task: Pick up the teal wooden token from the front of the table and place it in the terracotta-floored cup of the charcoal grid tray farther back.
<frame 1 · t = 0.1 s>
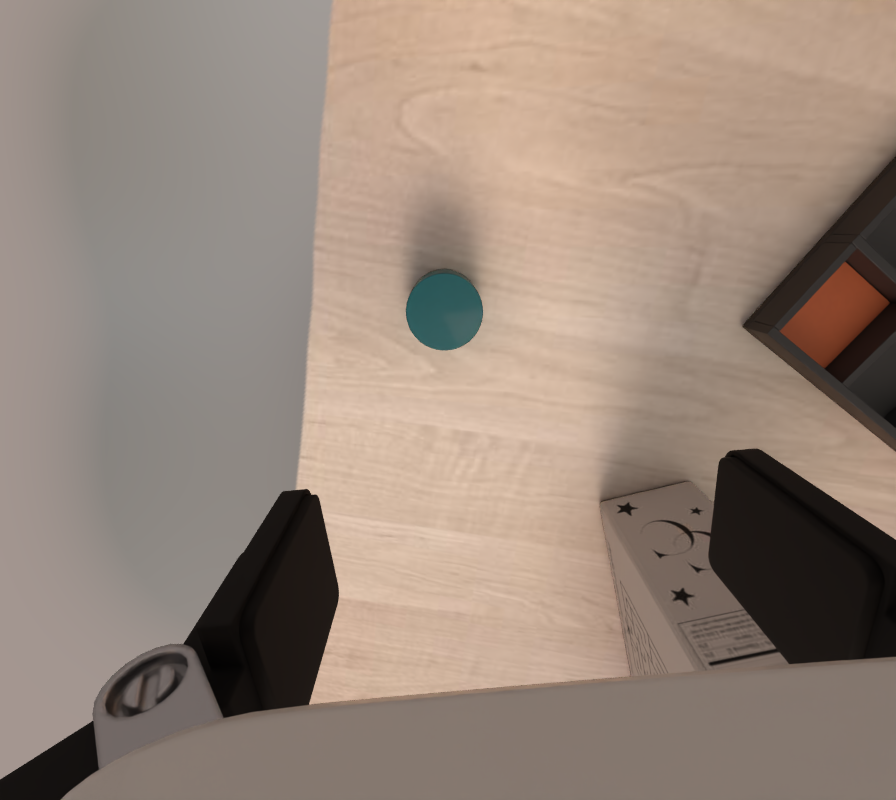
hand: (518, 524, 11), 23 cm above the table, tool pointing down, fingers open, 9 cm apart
cereal box: (657, 590, 41), on the table
token: (444, 304, 32), on the table
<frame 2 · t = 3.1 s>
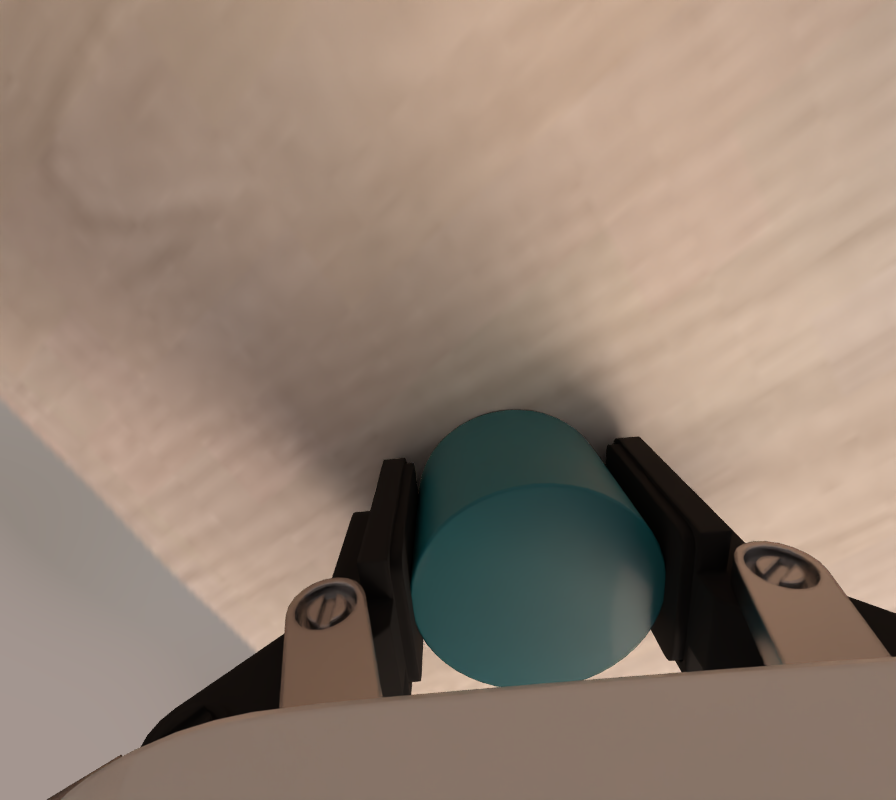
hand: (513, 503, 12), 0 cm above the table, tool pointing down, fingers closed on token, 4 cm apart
token: (510, 494, 12), on the table, touching gripper
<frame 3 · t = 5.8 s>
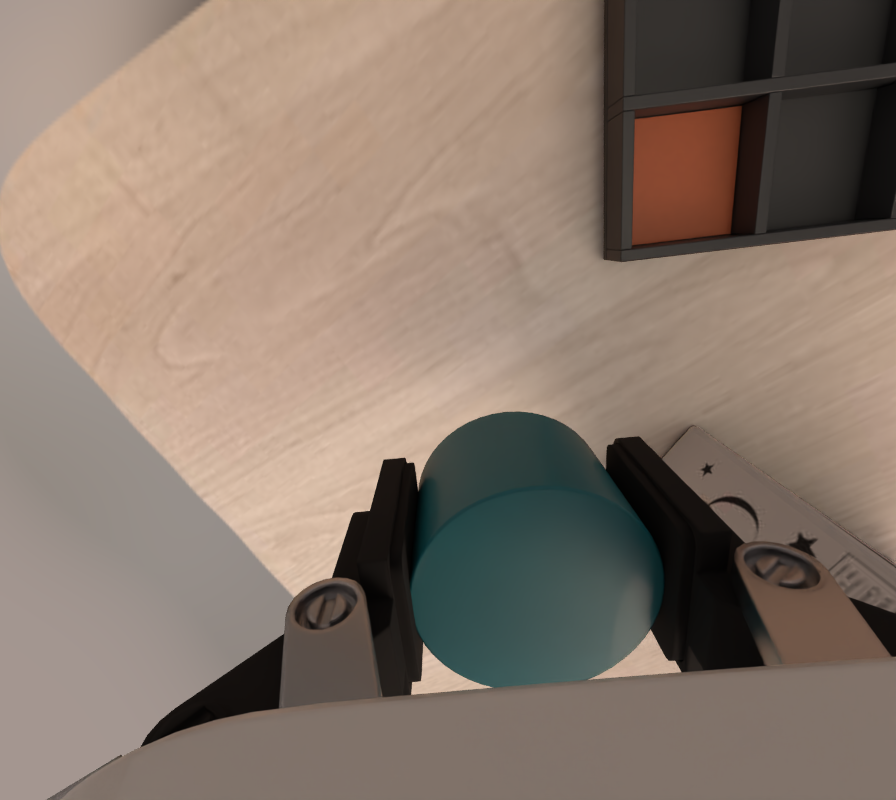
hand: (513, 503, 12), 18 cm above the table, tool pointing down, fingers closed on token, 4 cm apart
grid: (808, 92, 24), on the table
cereal box: (761, 536, 33), on the table
token: (510, 496, 12), point 17 cm above the table, touching gripper
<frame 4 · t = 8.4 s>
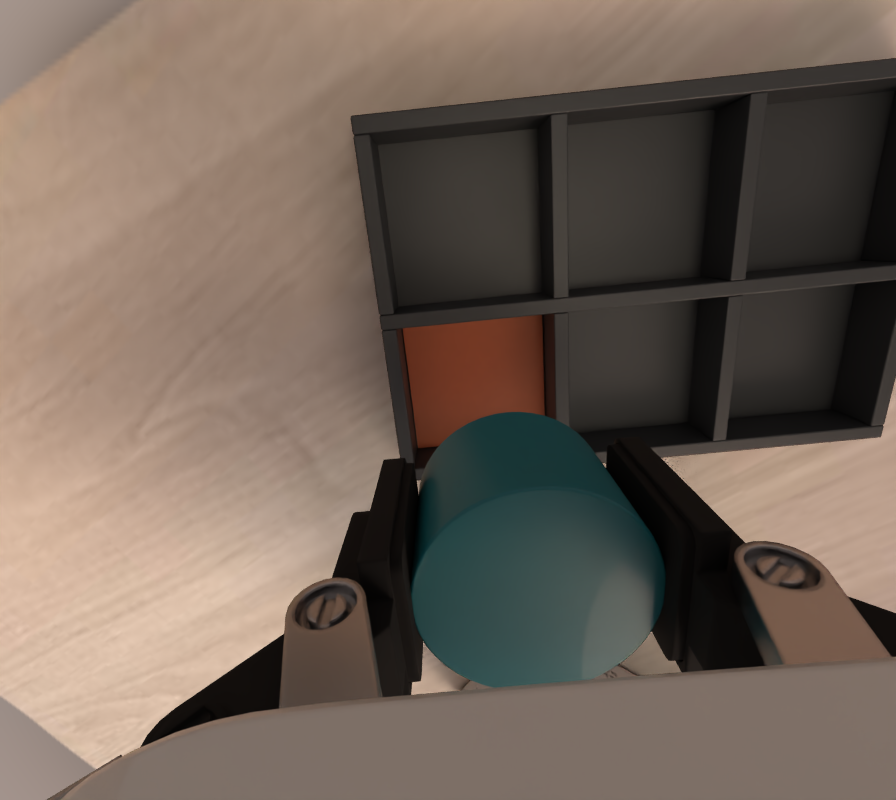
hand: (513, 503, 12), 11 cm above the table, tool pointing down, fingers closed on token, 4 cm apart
grid: (623, 289, 20), on the table
cereal box: (622, 720, 30), on the table
token: (511, 496, 12), point 10 cm above the table, touching gripper
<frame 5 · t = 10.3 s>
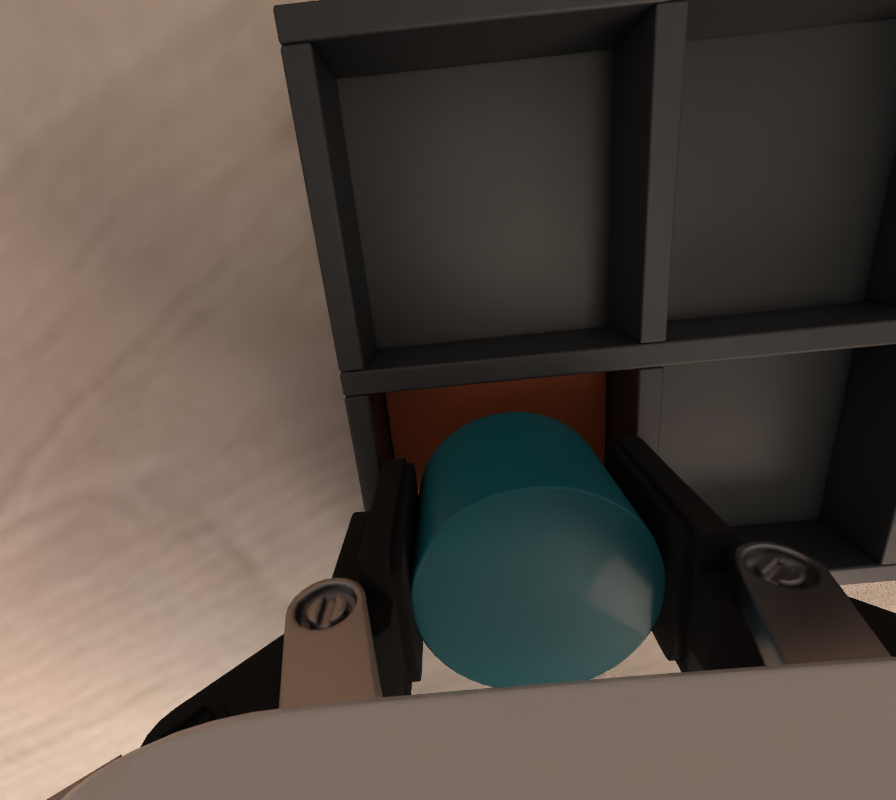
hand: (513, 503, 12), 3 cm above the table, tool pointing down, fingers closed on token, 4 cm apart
grid: (733, 320, 13), on the table
token: (511, 496, 12), point 2 cm above the table, touching gripper
when the fingers open (3 cm above the table, at t = 13.6 s): token drops 2 cm, resting on grid.
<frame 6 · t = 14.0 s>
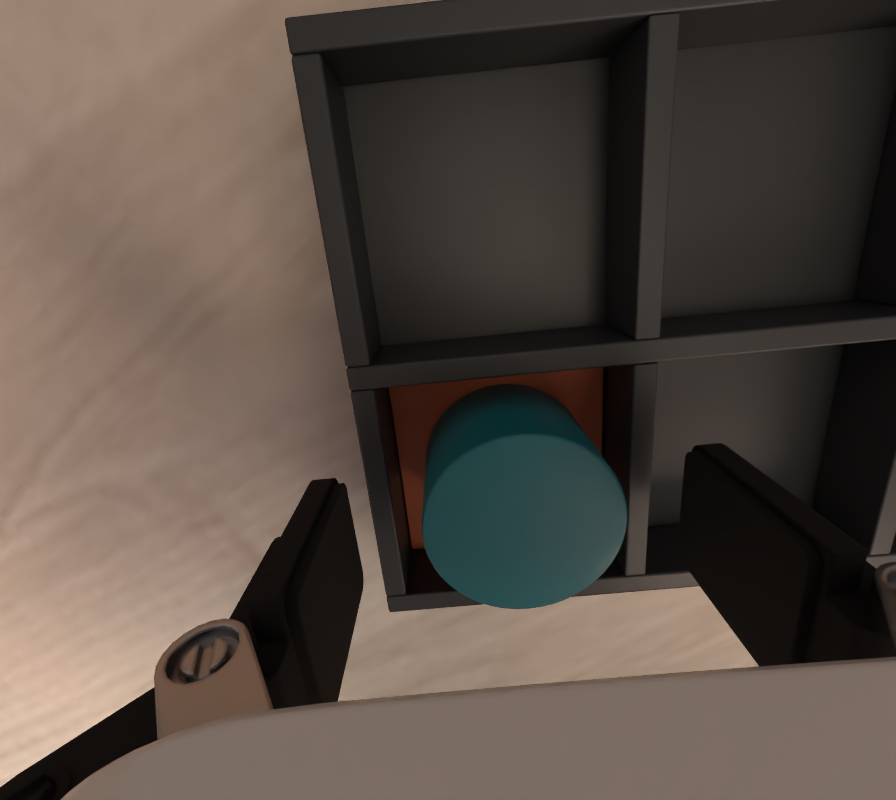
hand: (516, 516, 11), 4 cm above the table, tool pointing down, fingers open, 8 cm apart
grid: (726, 318, 13), on the table
token: (504, 458, 14), point 1 cm above the table, touching grid
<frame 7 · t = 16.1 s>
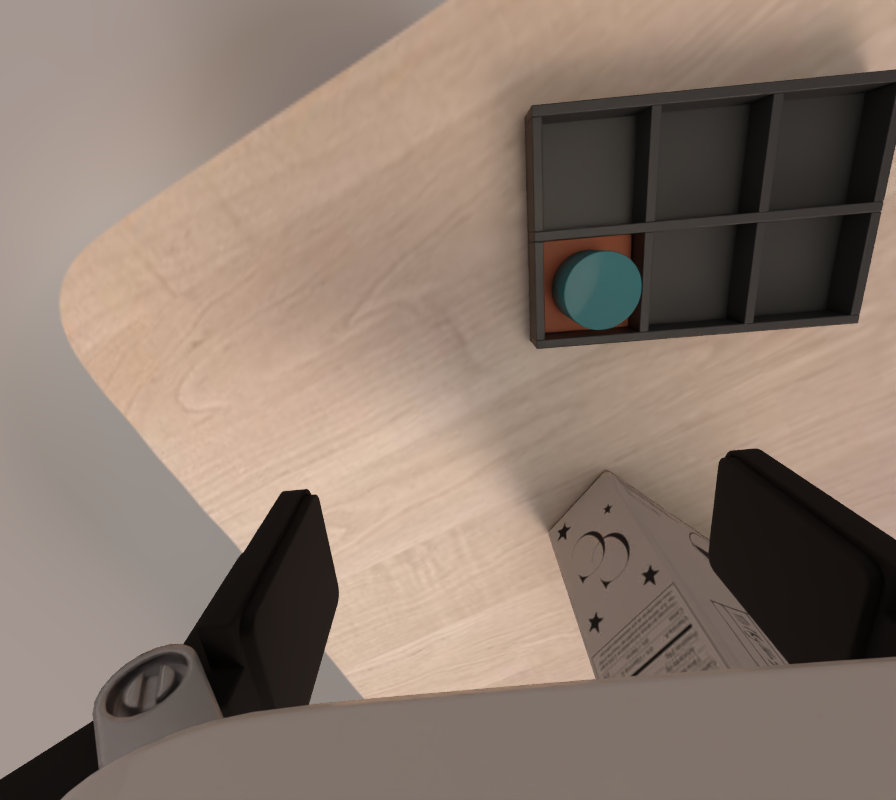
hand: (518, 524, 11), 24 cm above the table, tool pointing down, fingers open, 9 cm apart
grid: (685, 223, 31), on the table
cereal box: (668, 561, 40), on the table
token: (586, 286, 32), point 1 cm above the table, touching grid
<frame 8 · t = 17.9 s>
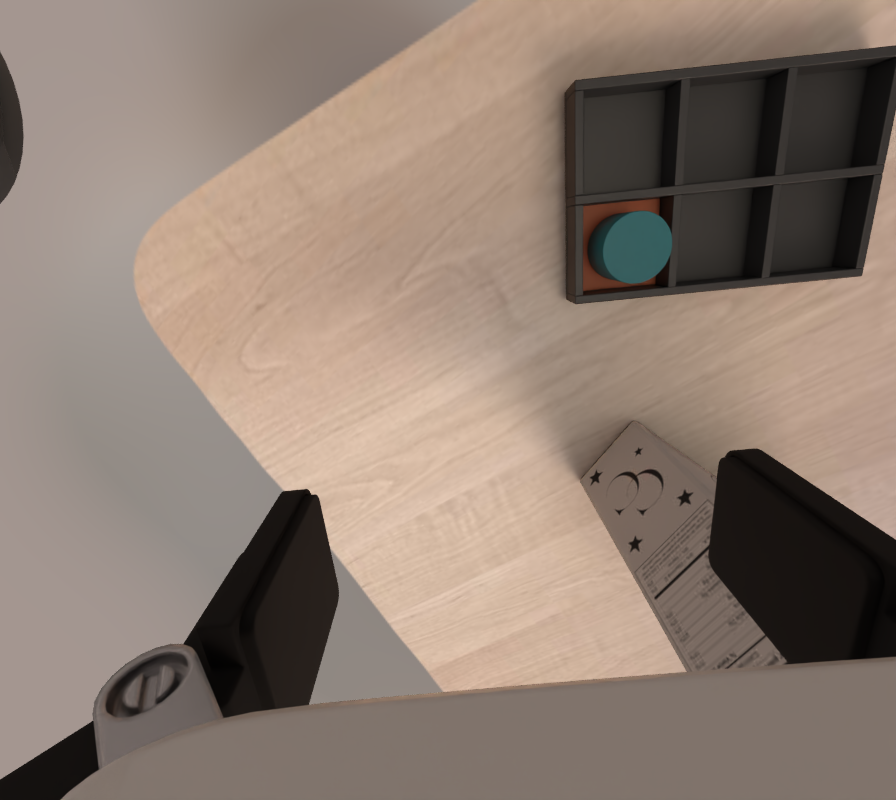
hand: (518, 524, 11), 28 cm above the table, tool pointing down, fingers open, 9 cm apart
grid: (707, 188, 34), on the table
cereal box: (688, 506, 44), on the table
token: (618, 247, 35), point 1 cm above the table, touching grid
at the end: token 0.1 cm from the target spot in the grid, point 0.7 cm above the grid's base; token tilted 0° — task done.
